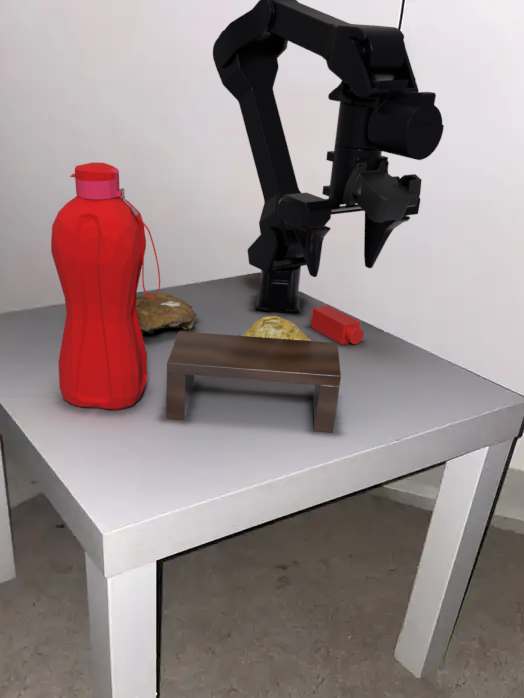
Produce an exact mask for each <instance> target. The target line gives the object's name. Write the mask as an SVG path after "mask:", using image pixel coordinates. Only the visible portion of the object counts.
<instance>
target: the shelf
mask: <svg viewBox="0 0 524 698" xmlns="http://www.w3.org/2000/svg"><path fill="white" fill-rule="evenodd" d="M195 376H201V377H213V378H224V379H225V378H226V379H239V380H249V381H250V380H251V381H262V382H263V381H264V382H265V381H266V382H275V383H276V382H277V383H288V384H289V383H290V384H303V385H314V386H313V392H312V394H313V395H312V396H313V399H312V400H313V431H314V432H322V433H323V432H325V433H334V429H335V421H336V414H337V408H338V401H339V392H340V386H341V378H342V373H341V363H340V353H339V343H338V342H331V341H317V340H311V341H305V340H291V339H277V338H264V337H250V336H241V335H234V334H232V335H231V334H221V333H206V332H192V331H178V333H177V335H176V338H175V340H174V342H173V346H172V349H171V350H170V353H169V357H168V360H167V361H166V404H165V405H166V407H165V409H166V411H165V412H166V413H165V414H166V417H165V418H166V419H167V420H178V421H179V420H180V421H185V419H186V416H187V412H188V409H189V406H190V402H191V398H192V395H193V391H194V387H195V380H196V379H195V378H196V377H195Z"/></svg>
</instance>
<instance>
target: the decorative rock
mask: <svg viewBox="0 0 524 698" xmlns="http://www.w3.org/2000/svg"><path fill="white" fill-rule="evenodd" d="M147 294H148V295H149V296H155V295H156V294H157V292H152V293H147ZM136 310H137V314H138V319H139V323H140V327H141V332H142V335H143V334H145V333H148V334H154V331H155V330H160V329H170V328H173V329H174V328H175V329H176V328H181V329H184V330H190V329H193V327H194V324H195V323H196V322H197V315H198V314H197V313H196V312H195V310H194V309H193V306H192V305H191V304H189V303H187V302H186V301H185V300H183V299H181V298H179V297H177V296H176V297H175V296H174V294H172V293H167V292H160V293H158V294H157V296H156V297H154V298H149V297H148V296H147V295H146V294H145V295H139V296H136Z"/></svg>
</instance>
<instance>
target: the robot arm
mask: <svg viewBox="0 0 524 698" xmlns="http://www.w3.org/2000/svg"><path fill="white" fill-rule="evenodd" d="M404 39H405V35H404V33H403V31H401V29H399V28H398V27H396V26H395V27H394V26H386V25H385V26H384V25H376V24H375V25H373V24H360V23H359V24H357V23H350V22H348V21H344V20H342V19H340V18H338V17H335V16H333V15H331V14H328V13H325V12H323V11H320V10H319V9H316V8H313V7H311V6H308V5H306V4H303V3H301V2H299V1H298V0H258V2H257V3H256V4H255V5H254V6H253V7H252V8H251V9H250V10H249V11H247V12H246V13H244V14H242V15H240V16H239V17H237V18H236V19H233V20H232V21H231V22H229V24H228V25H227V26H226V27H225V28H224V29H223V30H222V31H221V32H220V34H219V35H218V37H217V38H216V39H215V41H214V43H213V46H212V59H213V63H214V66H215V69H216V71H217V74H218V76H219V79H220V82H221V84H222V86H223V87H224V88H225V89H226V90H227V91H228V93H230V94H231V95H232V96H233V97H234V99H236V101H237V102H238V105H239V109H240V113H241V116H242V121H243V124H244V128H245V131H246V135H247V140H248V144H249V147H250V151H251V154H252V158H253V162H254V166H255V170H256V173H257V177H258V182H259V186H260V189H261V193H262V196H263V202H264V203H263V207H262V210H261V213H260V217H259V221H258V225H259V232H260V234H259V236H258V237H257V238H256V239H255V240H254V241H253V243H251V244H250V246H249V247H248V248H247V258H248V264H249V265H250V266H252V267H255V268H257V269H259V270H260V281H259V292H258V293H257V294H256V300H255V306H254V310H255V311H259V312H260V311H261V312H273V313H275V312H276V313H286V314H287V313H290V314H299V313H300V312H301V311H300V310H301V307H300V306H301V297H300V296H299V290H300V282H301V281H300V279H301V271H302V267H304V266H306V267H307V268H306V269H307V270H308V271H307V272H308V274H309V276H311V277H313V278H317V277H318V274H319V269H320V266H321V258H322V257H321V256H322V250H323V249H322V248H323V243H324V239H325V237H326V235H327V234H328V233H330V231H331V230H332V228H331V227H329V226H327V224H328V222H329V221H331V217H332V215H339V214H347V213H355V212H364V236H363V237H364V238H363V239H364V241H363V243H364V244H363V245H364V246H363V258H364V266H365V267H366V268H368V269H372V268H373V267H374V266H375V263H376V262H377V260H378V257H379V256H380V254H381V252H382V250H383V248H384V246H385V244H386V243H387V241H388V239H389V237H390V236H391V234H392V232H394V229H396V228H397V227H398V226H400V225H402V224H403V223H406V222H409V221H410V219H411V217H410V216H413V215H419V211H420V205H421V197H420V196H421V190H422V182H423V181H422V180H423V179H421V178H420V177H419V176H418V175H417V174H415V173H412V174H404V175H402V176H401V177H400V176H398V175H397V176H393V175H391V174H390V173H389V165H390V163H389V157H388V156H386V155H382V153H383V152H384V153H387V154H392V155H396V156H399V157H404V158H408V159H412V160H417V161H422V160H425V159H427V158H428V157H430V156H431V155H432V154H433V153H434V152H435V151H436V149H437V148H438V146H439V145H440V142H441V140H442V137H443V134H444V127H445V126H444V124H443V117H442V112H441V111H440V109H439V108H438V107H437V106H436V105H435V103H436V97H437V94H436V93H435V92H432V91H419V87H418V84H417V79H416V76H415V73H414V70H413V68H412V64H411V61H410V57H409V54H408V51H407V48H406V44H405V40H404ZM289 42H290V43H292V44H294V45H295V46H298V47H300V48H302V49H304V50H306V51H309V52H311V53H314V54H315V55H318V56H320V57H321V58H323V60H325V61H326V66H327V68H328V70H329V71H330V72H331V73H333V74H334V75H335V76H336V77H337V78H339V79H340V80H341V81H340V83H339V84H338V86H336V87H335V88H333V89H332V90H331V91H330V92H329V94H328V95H327V98H328V100H330V101H334V102H338V103H339V107H338V115H337V124H336V131H335V140H334V148H333V150H329V151H328V150H327V152H326V159H325V160H326V161H329V162H332V164H331V172H330V182H329V185H323V186H322V193H321V194H322V195H324V196H327V197H328V198H323V197H320V196H318V195H315V194H312V193H309V192H301V190H300V188H299V184H298V181H297V177H296V173H295V169H294V166H293V162H292V158H291V154H290V149H289V146H288V143H287V138H286V135H285V131H284V127H283V123H282V120H281V119H282V118H281V116H280V111H279V108H278V103H277V101H276V96H275V93H274V85H275V82H276V79H277V75H278V71H279V60H278V58H280V56H281V55H282V54H283V53H284V52H285V51H286V50H287V49H288V43H289Z"/></svg>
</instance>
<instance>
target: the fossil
mask: <svg viewBox="0 0 524 698" xmlns="http://www.w3.org/2000/svg"><path fill="white" fill-rule="evenodd" d="M240 336H250V337H264V338H277V339H291V340H305V341H312V339H310V338H308V336H306V335H305V334H304V333H303V332H302V330H301V329H300V328H299V327H298V326H297V325H296V324H295V323H294V322H292V321H290V320H289V319H286V318H283V317H281V316H278V315H272V316H270V315H269V316H268V315H267V316H263V317H261V318H260V319H258V320H256V321H255V322H254V323H252V324H251V325H250V327H249V328H248V329H247V331H246V332H244V333H243V334H241V335H240Z"/></svg>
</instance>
